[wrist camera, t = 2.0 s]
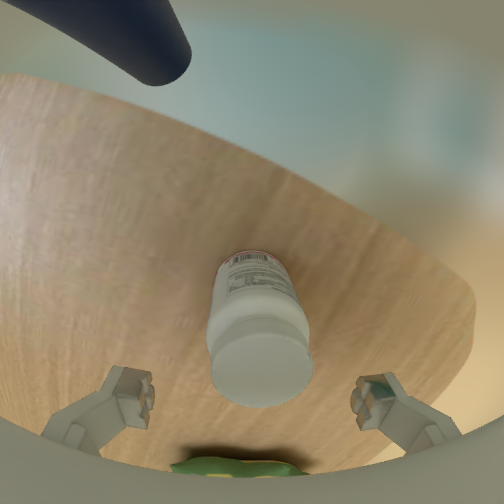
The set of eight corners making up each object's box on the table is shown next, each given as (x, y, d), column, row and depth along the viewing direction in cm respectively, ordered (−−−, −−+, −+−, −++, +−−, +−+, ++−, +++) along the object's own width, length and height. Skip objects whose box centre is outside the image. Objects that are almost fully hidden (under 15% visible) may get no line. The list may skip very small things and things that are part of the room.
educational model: (296, 487, 29) (301, 519, 23) (175, 483, 27) (171, 516, 22) (323, 441, 25) (334, 482, 19) (166, 436, 23) (158, 479, 18)
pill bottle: (259, 328, 19) (271, 426, 11) (199, 292, 18) (176, 385, 10) (304, 276, 18) (347, 360, 10) (243, 233, 17) (248, 301, 9)
